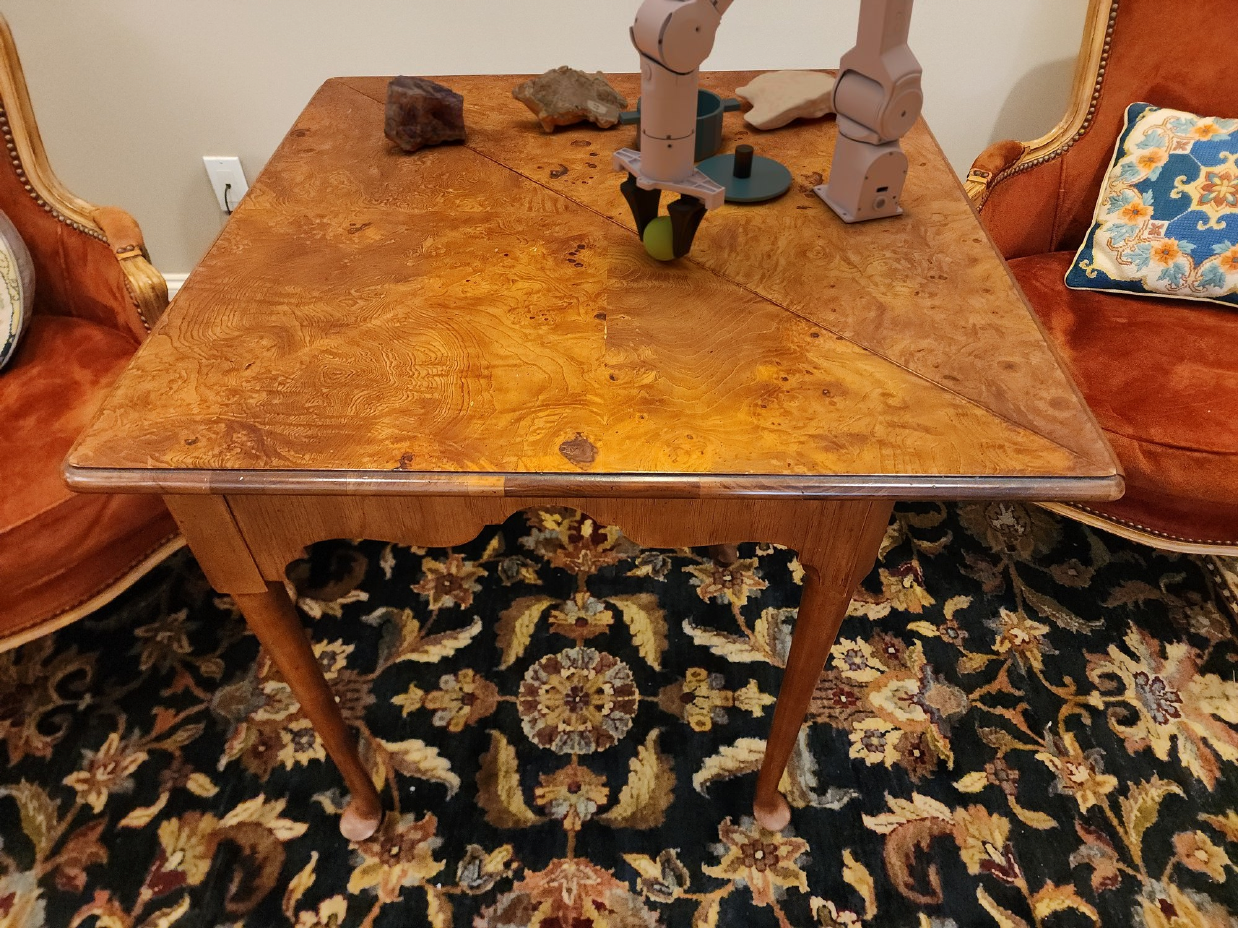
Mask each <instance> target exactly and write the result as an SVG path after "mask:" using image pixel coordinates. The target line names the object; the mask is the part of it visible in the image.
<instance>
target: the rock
mask: <svg viewBox="0 0 1238 928" xmlns="http://www.w3.org/2000/svg"><path fill="white" fill-rule="evenodd" d="M464 98H465V97H464V95H463V94H460V93H457V92H454V91H453V89H452V88H448V87H446V86H444V85H442V84H440V83H436V82H435V81H433V80H430V79H425V78H421V77H417V76H407V75H402V74H399V75H398V76H397V77H394V78H393V79H392V80H390V81H388V83H387V89H386V98H385V102H384V103H385V105H384V108H385V109H384V118H385V119H384V128H383V134H384V138H385V139H387V140H388V141H390V142H392V143H394V144H396V146H398V147H400V148H402V150H403V151H410V152H415V151H417V150H418V149H419V148H422V147H424V146H425V145H431V146H435V145H439V144H441V143H442V142H444V141H447V142H454V141H461V140H465V139H466V138H467V130H466V124H465V119H464V114H463V113H464Z"/></svg>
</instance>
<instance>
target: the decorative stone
mask: <svg viewBox="0 0 1238 928" xmlns="http://www.w3.org/2000/svg"><path fill="white" fill-rule="evenodd" d="M836 78H837V77H836ZM836 78H835V77H833V76H832V75H831V74H829V73H826V72H821V71H807V70H791V69H781V70H777V71H774V72H765V73H762V74H759V75H758V76H756V77H755V78H753V79H752V80H750V81H749V82H748V83H747V84H746V85H745V86H739V87H736V88H735V91H734V93H735V95H736V96H737V97H738V98H740V99H742V100H745V101H746V102H748V103H750V105H752V106H753V108H751V109H750V110H749V111H748V112H746V113H745V114H744V115H743V120H744V121H746V123H748V124H750V125H752V126H753V127H755V128H756V129H758V130H760V131H768V130H774V129H779V128H782V127H785V126H786V125H787V124H789V123H791V122H792V121H794V120H796V119H797V118H803V119H818V118H821V117H823V116H824V115H825V114H828V113H833V114H836V113H835V112H834V110H833V109H832V107H831V100H830V98H831V91H832V88H833V85H834V82H835V80H836ZM836 115H837V114H836Z"/></svg>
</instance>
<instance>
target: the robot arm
mask: <svg viewBox="0 0 1238 928" xmlns="http://www.w3.org/2000/svg"><path fill="white" fill-rule="evenodd" d="M734 1H735V0H644V1H643V2H642V3H641V4H640V5H639V8H638V10H637V12H636V14H635V17H634V22H633V25H630V26H629V28H628V32H629V38H630V41H631V44H632V47H634V49H635V50H636V51H637V53H638V56H639V70H640V97H641V152H640V151H637V150H633V149H629V148H626V147H623V148H621V149H619V150H617V151H615V152H613V153H612V170H613V171H615V172H617V173H621V172H623V171H624V172H627V173H628V175H627V176H628V177H627V178H626V180H624V181H623V182H621V183H620V184H619V191H620V193H621V195H623V197H624V199H625V200H626V203H627V204H628V207H629V209H630V212H631V213H632V217H633V219H634V223H635V226H636V230H637V233H638V237H639V240H640V242H641V243H643V244H644V242H643V235H644V231H645V228H646V227H647V225H648V224H649V223H650V222H651V221H652V220H653V219H655V218H657V217H659V207H660V200H661V196H662V192H663V191H667V192H671V193H672V192H673V193H677V194H678V195H680V197H679V198H677V199H675V200H673V201H671V202H670V203H668V204H666V210H667V212H668V216H670V219H671V224H672V230H673V255H674V257H675V258H674V259H677V260H681V258H684V257H685V256H687V255H688V254H690V252H691V248H692V245H693V242H694V240H695V237H696V233H697V231H698V228H699V226H700V224H701V222H702V221H703V219H704V217H705V216H706V214H707V212H708V211H710V212H714V211H715V210H717V209H719V208H721V207H722V206H724V205H725V199H724V197H725V187H722V186H720V185H718V184H716V183H715V182H713V181H712V180H711V179H709V178H708V177H707V176H706V175H704V174H703V173H702V172H701V171H699V170H698V169H697V168H695V167H696V166H694V164H695V162H694V150H695V135H696V116H697V99H698V89H699V83H700V81H699V80H700V66H701V65H702V64H703V62H704V61H705V60H707V59H708V58H709V57H710V56H711V53H712V50H713V48H714V44H715V42H716V41H715V39H716V34H717V33H716V32H717V31H718V28H719V27H720V25H721V21H722V18H723V16H724V14H725V13H726V11H727V10H728V9H729V8H730V6H731V5H732V4H733V2H734ZM859 3H860V4H859V13H858V22H857V31H856V40H855V41H856V42H855V45H854V46H853V47H852V48H850V49H849V50H847V51H846V52H845V53H844V54H842V55H841V56H840V59H839V66H838V67H839V68H838V73H837V75H836V80H835V82H834V85H833V88H832V91H831V98H830V100H831V107H832V109H833V110H834V112H835V113H836V119H835V125H838V130H837V136H836V140H835V146H834V150H833V156H832V161H831V166H830V172H829V176H828V181H827V184H820V185H815V186H813V188H812V189H813V190H812V191H813V192H814V193H815V194H816V195H817V196H819V198H820V199H821V200H822V201H823V202H825V204H826V205H827V206H829V207H830V209H831V210H832V211H833V212H835V213H836V215H837V216H838V217H839V218H841V219H842V220H843V222H845V223H849V224H851V223H856V222H862V221H867V220H873V219H874V220H875V219H879V218H880V219H881V218H885V217H891V216H899V215H901V214H903V212H904V210H903V208H901V207H900V205H899V204H900V201H901V197H902V194H903V191H904V185H905V183H906V179H907V174H908V171H909V160H908V157H907V155H906V154H905V153H904V151H903V149H902V147H901V143H900V139H903V138H904V137H905V135H906V134H907V133H908V132H910V130H911V129H912V128H913V127H914V125H915V124H916V123H917V121H918V119H919V117H920V115H921V112H922V109H923V104H924V93H923V89H922V76H923V67H922V66H921V64H920V63H919V61H918V59H917V57H916V56H915V54H914V52H913V51H912V49H911V48H910V46H909V43H908V40H909V34H910V33H909V32H910V26H911V21H912V13H913V7H914V0H860V2H859ZM835 113H834V114H835Z"/></svg>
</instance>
